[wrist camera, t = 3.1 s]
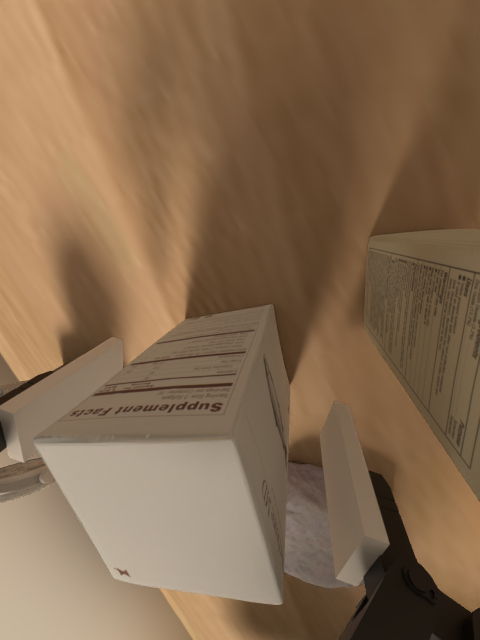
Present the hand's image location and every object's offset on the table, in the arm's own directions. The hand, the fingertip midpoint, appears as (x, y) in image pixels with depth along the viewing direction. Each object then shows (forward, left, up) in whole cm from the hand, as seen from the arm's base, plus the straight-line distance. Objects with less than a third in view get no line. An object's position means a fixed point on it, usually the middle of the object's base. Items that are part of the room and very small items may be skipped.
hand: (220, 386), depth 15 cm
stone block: (-14, -12, -6) cm, 19 cm away
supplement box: (0, 0, -5) cm, 5 cm away
